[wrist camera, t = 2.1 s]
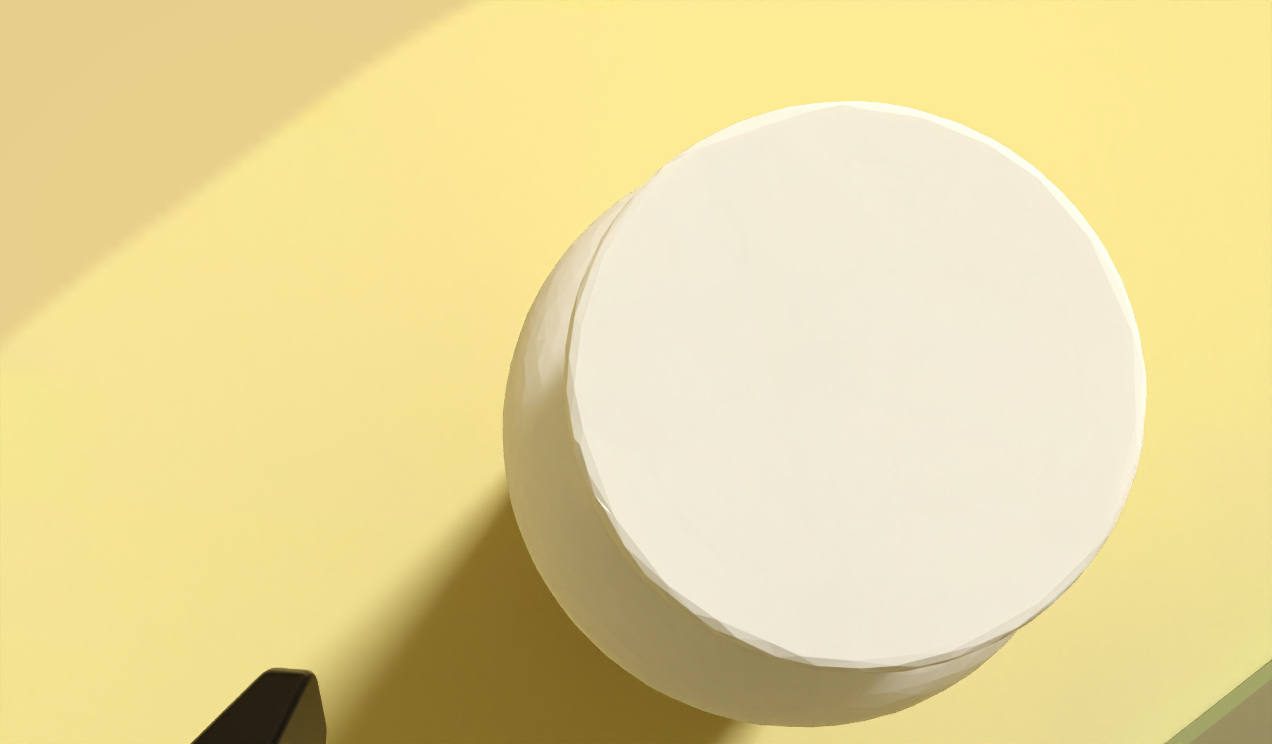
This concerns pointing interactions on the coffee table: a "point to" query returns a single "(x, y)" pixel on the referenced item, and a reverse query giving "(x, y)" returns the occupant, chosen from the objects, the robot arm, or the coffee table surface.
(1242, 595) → the coffee table surface
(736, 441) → the supplement bottle
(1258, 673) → the grey tray
